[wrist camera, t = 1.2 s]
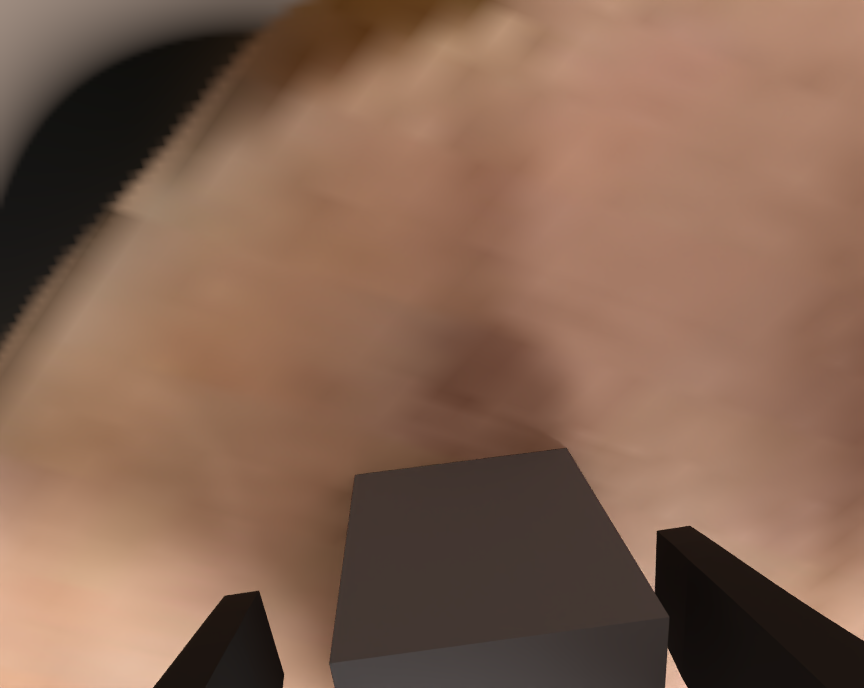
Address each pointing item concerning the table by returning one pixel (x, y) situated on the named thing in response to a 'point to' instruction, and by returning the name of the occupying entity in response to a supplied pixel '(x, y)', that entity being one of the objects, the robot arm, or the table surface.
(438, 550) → the dark grey block
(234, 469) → the table surface
